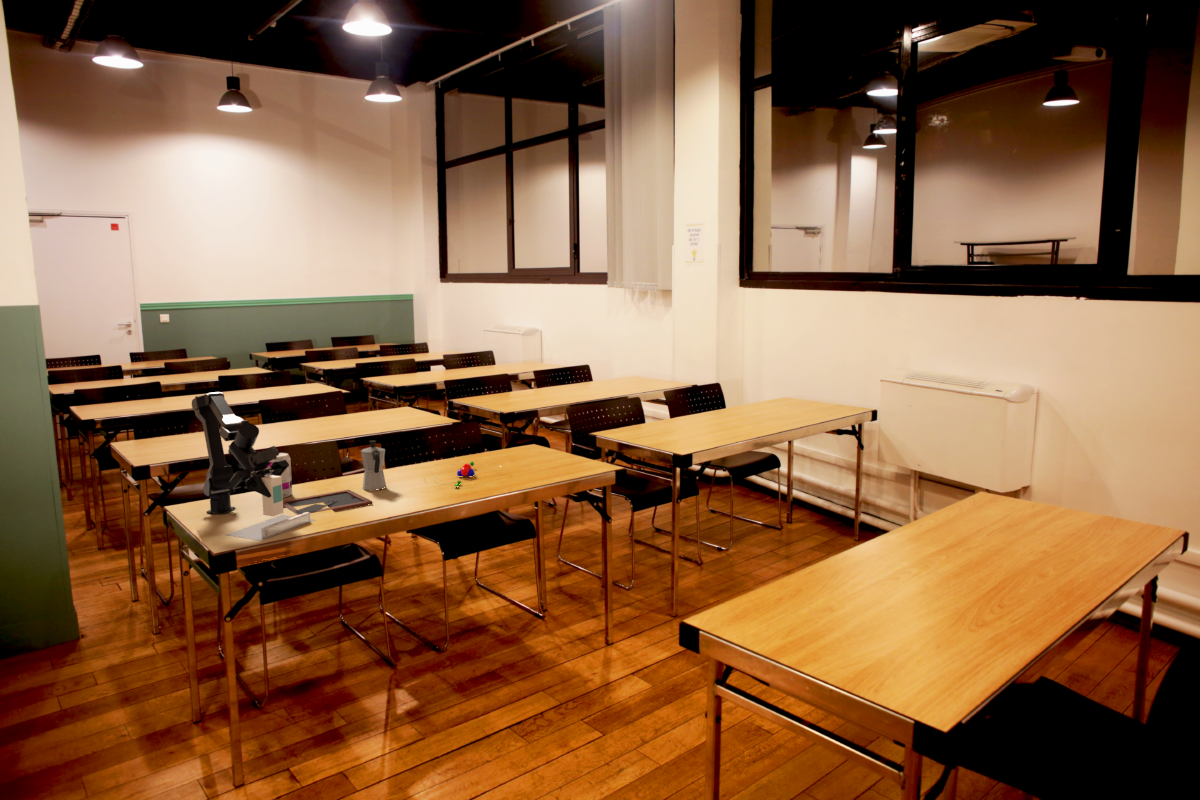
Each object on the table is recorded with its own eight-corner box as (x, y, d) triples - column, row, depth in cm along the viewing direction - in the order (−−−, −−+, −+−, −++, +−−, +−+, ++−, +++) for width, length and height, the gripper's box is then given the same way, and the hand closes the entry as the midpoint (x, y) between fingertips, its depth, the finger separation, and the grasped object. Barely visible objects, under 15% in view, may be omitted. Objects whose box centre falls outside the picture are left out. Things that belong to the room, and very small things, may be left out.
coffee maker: (359, 485, 286) (357, 438, 284) (382, 482, 290) (381, 436, 288) (366, 494, 273) (364, 446, 271) (391, 492, 277) (389, 443, 275)
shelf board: (225, 537, 226) (225, 534, 225) (282, 517, 246) (282, 514, 246) (260, 544, 220) (260, 540, 220) (315, 523, 240) (315, 520, 240)
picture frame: (299, 520, 245) (372, 506, 262) (298, 514, 245) (372, 500, 261) (278, 506, 260) (348, 494, 276) (277, 501, 260) (348, 488, 276)
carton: (263, 514, 231) (261, 477, 229) (273, 511, 234) (271, 475, 233) (273, 516, 229) (271, 479, 227) (283, 512, 233) (282, 476, 231)
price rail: (261, 538, 223) (261, 528, 222) (307, 521, 239) (306, 511, 239) (265, 538, 222) (264, 528, 222) (310, 521, 238) (310, 512, 238)
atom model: (502, 493, 283) (502, 479, 282) (410, 489, 283) (410, 474, 282) (514, 467, 317) (514, 454, 316) (433, 463, 317) (433, 450, 316)
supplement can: (283, 499, 267) (281, 457, 265) (262, 498, 268) (260, 456, 266) (297, 493, 275) (294, 453, 272) (276, 492, 276) (274, 451, 274)
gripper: (233, 445, 221) (264, 486, 219) (283, 434, 238) (312, 471, 236) (216, 468, 226) (245, 509, 223) (265, 456, 243) (293, 493, 240)
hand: (275, 494), depth 230 cm, fingers closed on carton, 4 cm apart
